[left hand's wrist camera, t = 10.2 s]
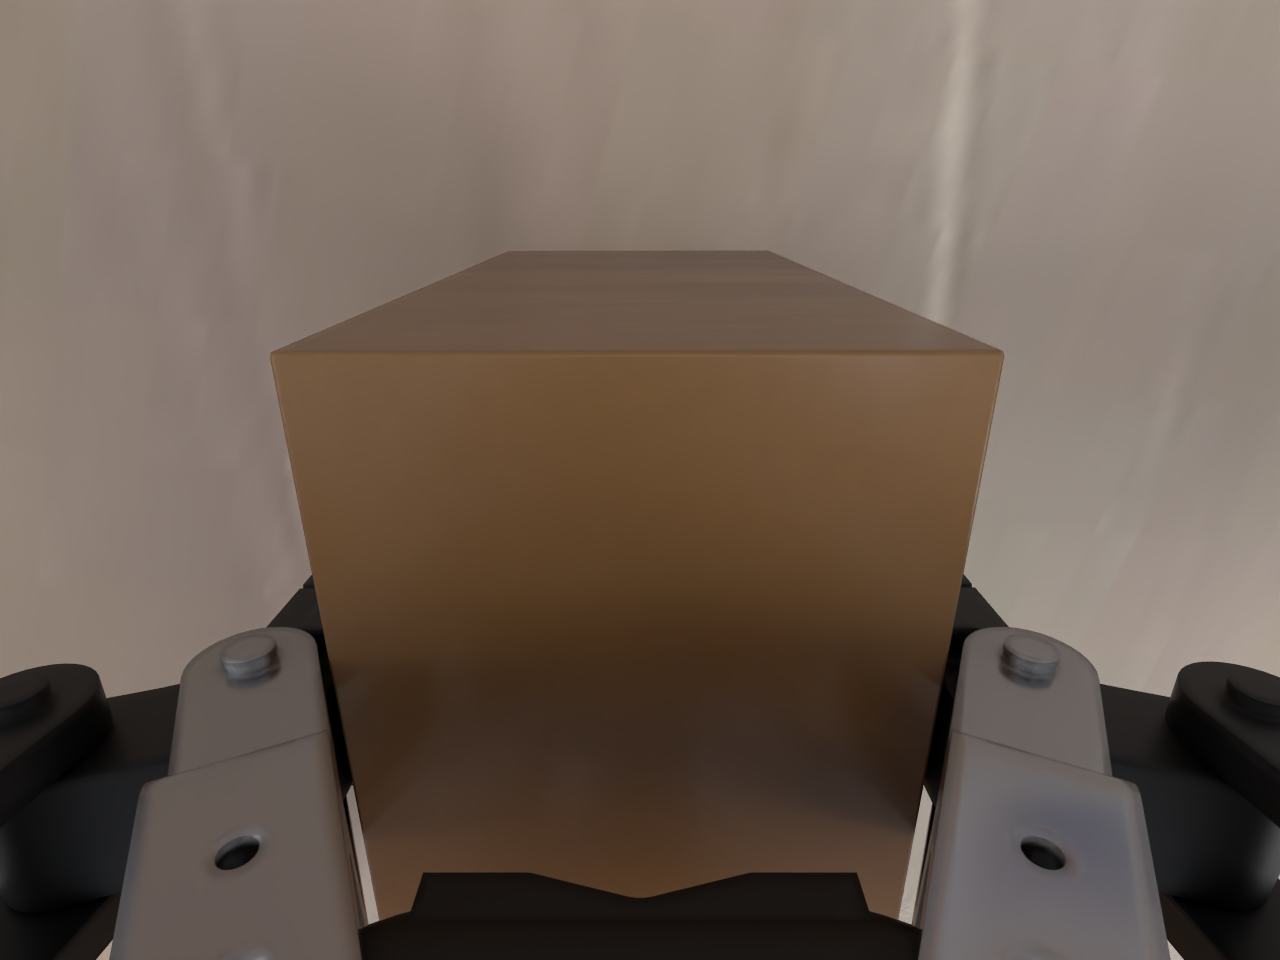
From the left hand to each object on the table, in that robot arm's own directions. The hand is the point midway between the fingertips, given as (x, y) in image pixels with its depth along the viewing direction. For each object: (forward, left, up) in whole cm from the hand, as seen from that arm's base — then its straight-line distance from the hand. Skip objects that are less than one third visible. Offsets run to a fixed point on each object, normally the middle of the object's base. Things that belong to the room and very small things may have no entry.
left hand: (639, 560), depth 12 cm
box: (+9, +2, -7) cm, 12 cm away
